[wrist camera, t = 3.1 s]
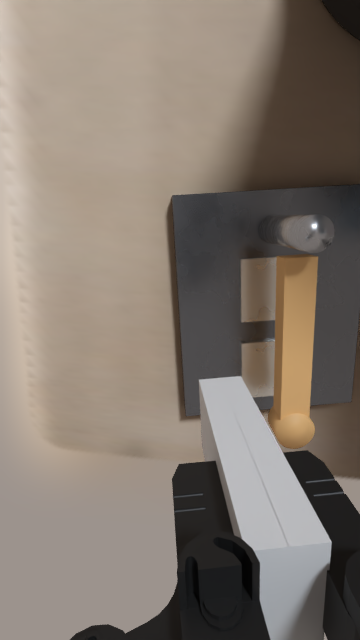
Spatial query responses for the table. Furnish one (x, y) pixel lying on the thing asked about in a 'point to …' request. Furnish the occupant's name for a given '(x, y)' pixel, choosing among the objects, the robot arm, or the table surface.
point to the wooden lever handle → (294, 349)
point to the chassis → (265, 285)
